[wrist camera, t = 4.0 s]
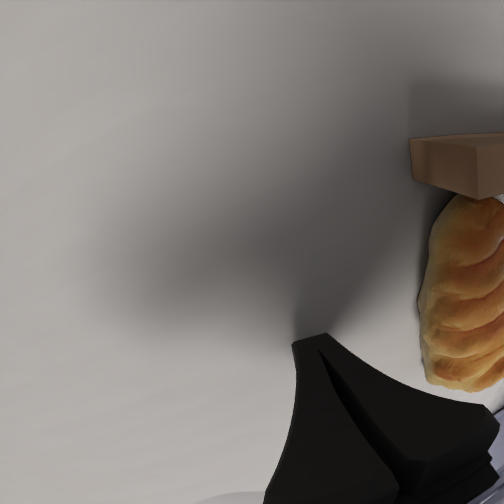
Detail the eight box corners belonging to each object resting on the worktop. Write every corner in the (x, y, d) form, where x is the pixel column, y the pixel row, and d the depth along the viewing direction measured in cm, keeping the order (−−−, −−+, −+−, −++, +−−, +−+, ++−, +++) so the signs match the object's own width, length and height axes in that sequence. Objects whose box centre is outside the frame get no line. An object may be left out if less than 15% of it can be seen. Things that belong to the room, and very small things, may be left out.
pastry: (382, 224, 11) (446, 261, 8) (491, 162, 11) (555, 177, 7) (417, 377, 15) (453, 423, 11) (502, 314, 14) (542, 346, 11)
